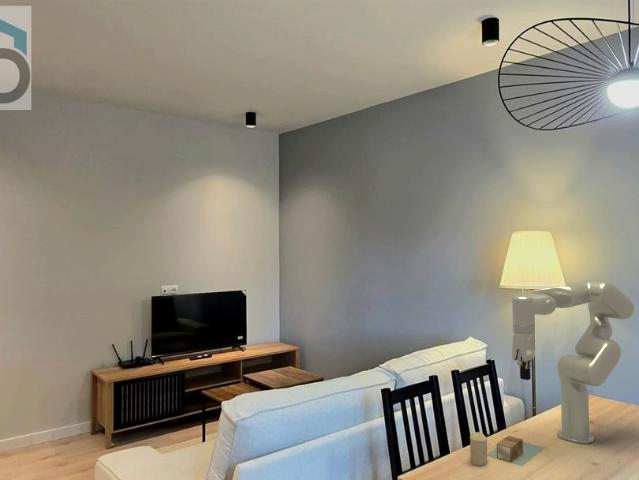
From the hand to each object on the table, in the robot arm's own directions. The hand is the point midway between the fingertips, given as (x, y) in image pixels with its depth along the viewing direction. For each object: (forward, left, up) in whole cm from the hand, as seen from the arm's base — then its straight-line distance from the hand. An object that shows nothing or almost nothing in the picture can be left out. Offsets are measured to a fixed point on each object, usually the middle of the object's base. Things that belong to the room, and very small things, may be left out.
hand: (525, 378), depth 181 cm
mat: (+7, -1, -25) cm, 26 cm away
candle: (+23, -7, -26) cm, 35 cm away
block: (+7, -1, -22) cm, 23 cm away
